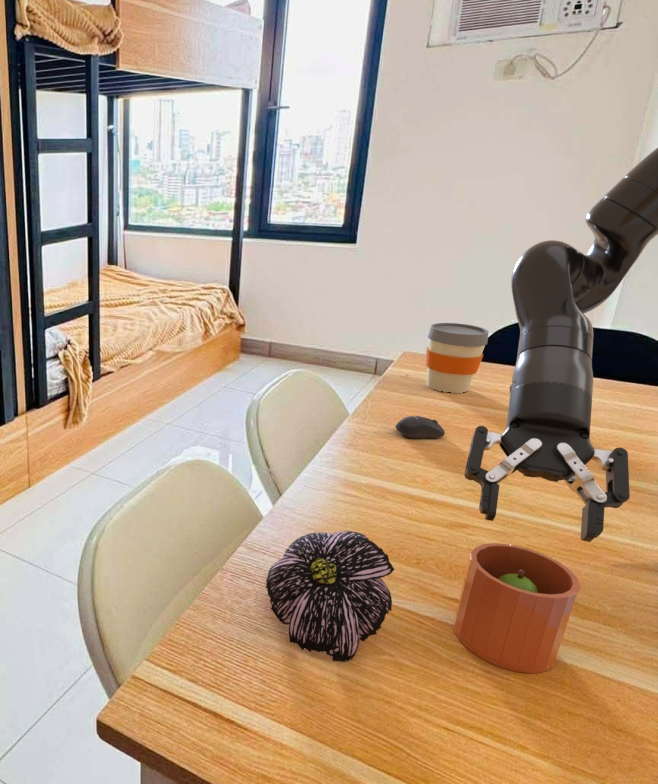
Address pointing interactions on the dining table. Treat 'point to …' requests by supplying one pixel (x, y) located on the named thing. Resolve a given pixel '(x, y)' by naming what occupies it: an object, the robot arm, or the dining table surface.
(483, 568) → the terracotta cup
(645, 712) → the dining table surface
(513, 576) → the green pear
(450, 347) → the reusable coffee cup
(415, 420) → the computer mouse
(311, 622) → the decorative flower
